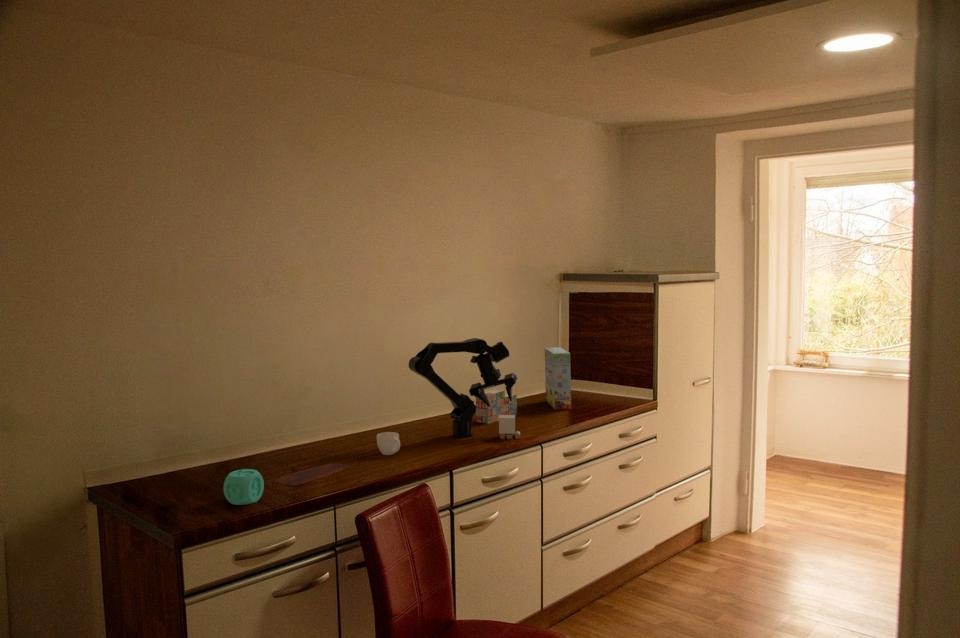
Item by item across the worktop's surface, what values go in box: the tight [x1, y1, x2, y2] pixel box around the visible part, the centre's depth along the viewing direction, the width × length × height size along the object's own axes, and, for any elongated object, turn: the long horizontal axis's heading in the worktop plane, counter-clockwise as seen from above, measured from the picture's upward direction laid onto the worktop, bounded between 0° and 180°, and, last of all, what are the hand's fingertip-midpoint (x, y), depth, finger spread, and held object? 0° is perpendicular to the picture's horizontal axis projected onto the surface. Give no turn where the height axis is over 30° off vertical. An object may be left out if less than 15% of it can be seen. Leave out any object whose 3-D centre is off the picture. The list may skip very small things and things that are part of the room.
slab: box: [498, 415, 516, 435], centre depth 282 cm, size 6×5×6 cm
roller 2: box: [514, 430, 521, 440], centre depth 282 cm, size 6×2×2 cm
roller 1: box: [499, 434, 506, 440], centre depth 282 cm, size 6×2×2 cm, turn 177°
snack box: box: [543, 346, 572, 411], centre depth 343 cm, size 22×9×26 cm, turn 6°
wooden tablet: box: [273, 462, 352, 487], centre depth 236 cm, size 27×10×2 cm, turn 147°
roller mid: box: [505, 434, 513, 440], centre depth 282 cm, size 6×2×2 cm, turn 177°
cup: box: [376, 431, 401, 456], centre depth 259 cm, size 8×10×7 cm
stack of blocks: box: [475, 388, 518, 425], centre depth 316 cm, size 21×6×12 cm, turn 143°
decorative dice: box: [223, 468, 265, 506], centre depth 210 cm, size 8×8×8 cm
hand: (500, 403), depth 292 cm, fingers open, 9 cm apart
